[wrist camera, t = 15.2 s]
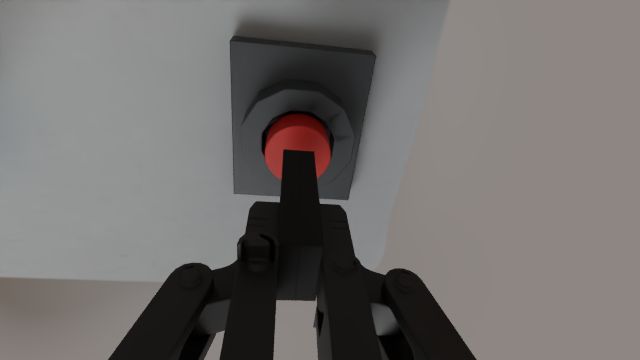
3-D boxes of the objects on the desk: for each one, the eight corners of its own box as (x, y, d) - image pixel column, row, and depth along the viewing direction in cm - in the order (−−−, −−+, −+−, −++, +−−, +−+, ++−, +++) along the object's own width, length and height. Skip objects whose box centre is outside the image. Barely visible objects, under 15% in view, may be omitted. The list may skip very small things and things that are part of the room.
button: (324, 170, 21) (326, 186, 20) (265, 166, 21) (263, 182, 19) (332, 115, 19) (335, 128, 18) (267, 110, 19) (265, 123, 17)
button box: (346, 190, 25) (351, 216, 23) (236, 184, 24) (229, 210, 22) (372, 50, 20) (383, 63, 17) (233, 35, 19) (223, 46, 17)
